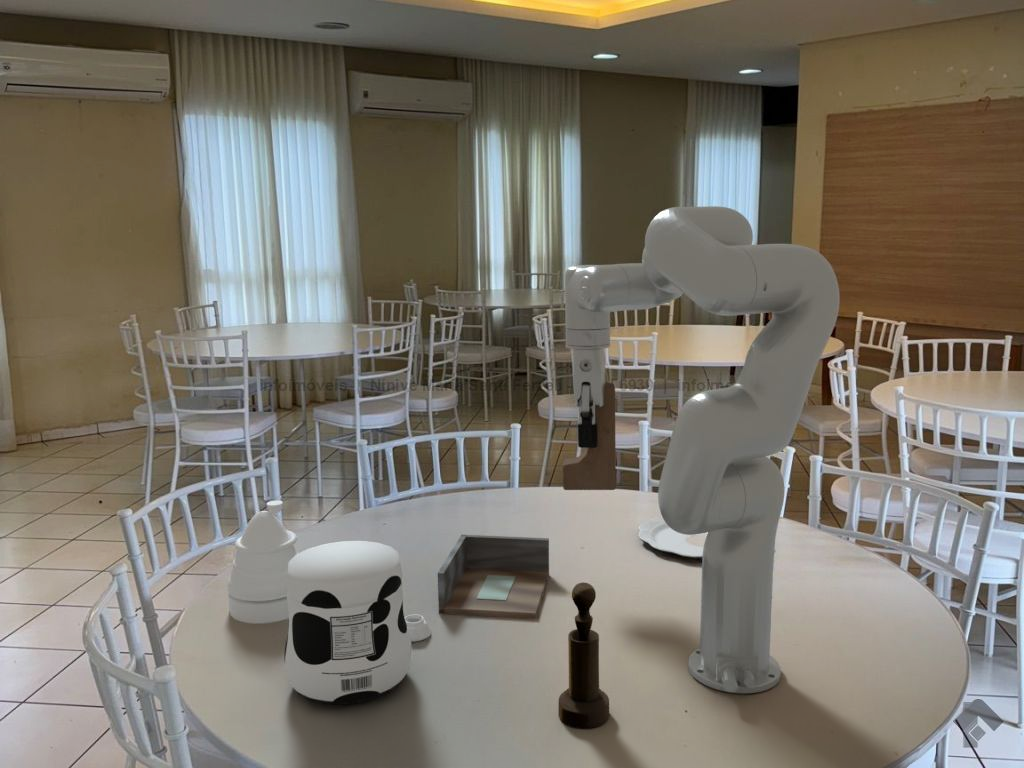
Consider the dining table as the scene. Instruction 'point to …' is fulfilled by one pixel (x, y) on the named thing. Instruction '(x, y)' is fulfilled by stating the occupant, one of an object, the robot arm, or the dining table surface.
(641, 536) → the plate
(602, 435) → the wooden block
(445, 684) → the dining table surface
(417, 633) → the lidless jar
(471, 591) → the tray
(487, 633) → the dining table surface
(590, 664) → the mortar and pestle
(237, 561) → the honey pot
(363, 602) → the milk container
